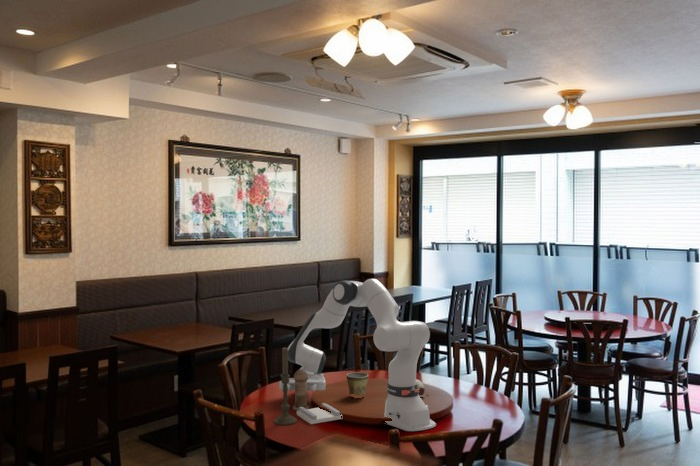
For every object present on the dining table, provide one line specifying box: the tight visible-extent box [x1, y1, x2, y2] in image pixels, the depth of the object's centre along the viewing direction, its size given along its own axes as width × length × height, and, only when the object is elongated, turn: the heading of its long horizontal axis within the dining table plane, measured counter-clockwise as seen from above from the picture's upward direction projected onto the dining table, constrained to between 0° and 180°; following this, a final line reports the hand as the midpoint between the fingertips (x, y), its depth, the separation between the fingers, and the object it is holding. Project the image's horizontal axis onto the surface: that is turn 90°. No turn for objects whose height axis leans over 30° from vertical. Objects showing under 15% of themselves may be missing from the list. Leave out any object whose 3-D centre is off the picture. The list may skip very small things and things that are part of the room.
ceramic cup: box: [345, 371, 369, 395], centre depth 277 cm, size 13×10×10 cm
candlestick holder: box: [273, 347, 298, 426], centre depth 241 cm, size 9×9×30 cm
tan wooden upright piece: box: [292, 369, 310, 412], centre depth 258 cm, size 7×7×16 cm
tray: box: [296, 402, 343, 425], centre depth 247 cm, size 14×14×3 cm
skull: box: [416, 378, 426, 395], centre depth 277 cm, size 12×10×10 cm
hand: (300, 389), depth 258 cm, fingers open, 8 cm apart
